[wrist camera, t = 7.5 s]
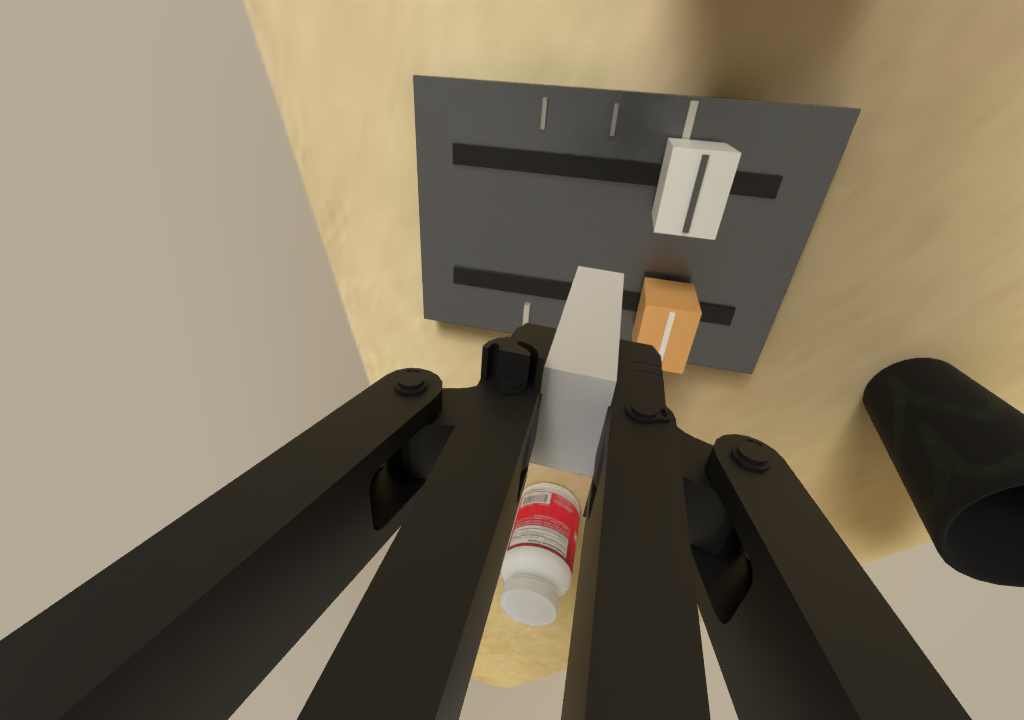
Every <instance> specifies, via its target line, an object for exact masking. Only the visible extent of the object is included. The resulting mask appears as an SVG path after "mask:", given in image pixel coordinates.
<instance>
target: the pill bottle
mask: <svg viewBox="0 0 1024 720" xmlns="http://www.w3.org/2000/svg"><path fill="white" fill-rule="evenodd" d="M579 518H580V506H579V503H578V501H577V499H576V498H575V496H574V495H573V494H572V493H571V492H569V491H568V490H567V489H565V488H563V487H561V486H559V485H556V484H552V483H537V484H534V485H531V486H529V487H527V488H526V489H525V490H524V491H523V493H522V496H521V500H520V503H519V507H518V510H517V514H516V518H515V521H514V525H513V528H512V532H511V535H510V539H509V542H508V546H507V549H506V553H505V557H504V560H503V564H502V567H501V575H502V578H503V580H504V582H505V584H504V585H503V589H502V593H501V597H500V605H501V608H502V610H503V611H504V612H505V613H506V614H507V615H508V616H509V617H510V618H512V619H513V620H515V621H517V622H519V623H522V624H525V625H529V626H546V625H548V624H551V623H552V622H553V621H554V620H555V619H556V617H557V612H558V606H559V598H560V597H561V596H563V595H564V594H565V593H566V592H567V590H568V589H569V587H570V584H571V579H572V571H573V563H574V556H575V549H576V541H577V534H578V526H579Z"/></svg>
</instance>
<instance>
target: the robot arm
mask: <svg viewBox="0 0 1024 720" xmlns="http://www.w3.org/2000/svg"><path fill="white" fill-rule="evenodd" d="M623 282H624V273H618V272H612V271H606V270H600V269H594V268H588V267H582V266H578V269H577V272H576V274H575V277H574V280H573V283H572V286H571V289H570V292H569V295H568V298H567V301H566V304H565V307H564V310H563V313H562V316H561V319H560V322H559V325H558V328H551V327H546V326H541V325H536V324H530V323H525V324H524V325H522V326H520V327H519V328H517V329H515V331H514V333H513V335H512V337H505V338H497V339H494V340H491V341H488V342H487V343H486V344H485V345H484V346H483V351H482V366H481V379H480V381H479V383H478V385H477V386H474V387H469V388H442V381H441V379H440V378H439V376H438V375H436V374H434V373H433V372H431V371H428V370H424V369H420V368H406V369H401V370H396V371H394V372H392V373H390V374H387V375H386V376H384V377H383V378H381V379H380V380H378V381H377V382H375V383H374V384H373V385H371V386H370V387H368V388H367V389H365V390H364V391H362V392H361V393H359V394H358V395H357V396H355V397H354V398H352V399H351V400H349V401H348V402H347V403H345V404H344V405H342V406H341V407H339V408H338V409H336V410H335V411H333V412H332V413H330V414H329V415H328V416H326V417H325V418H323V419H322V420H320V421H319V422H317V423H316V424H314V425H313V426H312V427H310V428H309V429H307V430H306V431H304V432H303V433H301V434H300V435H299V436H297V437H296V438H294V439H293V440H291V441H290V442H288V443H287V444H285V445H284V446H283V447H281V448H280V449H278V450H277V451H275V452H274V453H272V454H271V455H269V456H268V457H267V458H265V459H264V460H262V461H261V462H259V463H258V464H256V465H255V466H254V467H252V468H251V469H249V470H248V471H247V472H245V473H243V474H242V475H240V476H239V477H238V478H236V479H235V480H233V481H232V482H230V483H229V484H227V485H226V486H225V487H223V488H221V489H220V490H219V491H217V492H216V493H214V494H213V495H211V496H210V497H208V498H207V499H206V500H204V501H203V502H201V503H200V504H198V505H197V506H195V507H194V508H192V509H191V510H190V511H188V512H187V513H185V514H184V515H182V516H181V517H179V518H178V519H176V520H175V521H174V522H172V523H171V524H169V525H168V526H166V527H165V528H163V529H162V530H161V531H159V532H158V533H156V534H155V535H153V536H152V537H150V538H149V539H147V540H146V541H144V542H143V543H142V544H140V545H139V546H137V547H136V548H134V549H133V550H132V551H130V552H128V553H127V554H126V555H124V556H123V557H121V558H120V559H118V560H117V561H115V562H114V563H113V564H111V565H110V566H108V567H107V568H105V569H104V570H102V571H101V572H99V573H98V574H97V575H95V576H94V577H92V578H91V579H89V580H88V581H86V582H85V583H84V584H82V585H81V586H79V587H78V588H76V589H75V590H73V591H72V592H70V593H69V594H68V595H66V596H65V597H63V598H62V599H60V600H59V601H57V602H56V603H54V604H53V605H51V606H50V607H49V608H48V609H46V610H44V611H43V612H42V613H40V614H38V615H37V616H36V617H34V618H33V619H31V620H30V621H28V622H27V623H25V624H24V625H22V626H21V627H20V628H18V629H17V630H15V631H14V632H12V633H11V634H10V635H8V636H6V637H5V638H4V639H2V640H1V641H0V720H228V719H229V717H230V716H231V715H232V714H233V713H234V712H235V711H236V710H237V709H238V707H239V706H240V705H241V704H242V703H243V702H244V701H245V699H246V698H247V697H248V696H249V695H250V694H251V693H252V692H253V691H254V689H256V687H257V686H258V685H259V684H260V683H261V682H262V681H263V679H264V678H265V677H266V676H267V675H268V674H269V673H270V672H271V671H272V669H273V668H274V667H275V666H276V665H277V664H278V663H279V662H280V660H281V659H282V658H283V657H284V656H285V655H286V654H287V653H288V652H289V650H290V649H291V648H292V647H293V646H294V645H295V644H296V643H297V642H298V640H299V639H300V638H301V637H302V636H303V635H304V634H305V633H306V631H307V630H308V629H309V628H310V627H311V626H312V625H313V624H314V622H315V621H316V620H317V619H318V618H319V617H320V616H321V615H322V613H323V612H324V611H325V610H326V609H327V608H328V607H329V606H330V605H331V604H332V602H333V601H334V600H335V599H336V598H337V597H338V596H339V594H340V593H341V592H342V591H343V590H344V589H345V588H346V587H347V586H348V584H349V583H350V582H351V581H352V580H353V579H354V578H355V577H356V576H357V574H358V573H359V572H360V571H361V570H362V569H363V568H364V566H365V565H366V564H367V563H368V562H369V561H370V560H371V559H372V558H373V557H374V555H375V554H376V553H377V552H378V551H379V550H380V548H382V546H383V545H384V544H385V543H386V542H387V541H388V540H389V539H390V537H391V536H392V535H393V534H394V533H395V532H396V531H397V529H399V527H400V526H401V525H402V526H401V528H400V529H399V531H398V533H397V535H396V537H395V539H394V541H393V542H392V544H391V546H390V548H389V550H388V552H387V554H386V555H385V557H384V559H383V561H382V563H381V565H380V566H379V568H378V570H377V572H376V574H375V576H374V578H373V580H372V581H371V583H370V585H369V587H368V589H367V591H366V592H365V594H364V596H363V598H362V600H361V602H360V604H359V605H358V608H357V609H356V611H355V613H354V615H353V617H352V618H351V620H350V622H349V624H348V626H347V628H346V630H345V631H344V633H343V635H342V637H341V639H340V641H339V643H338V644H337V646H336V648H335V650H334V652H333V654H332V656H331V657H330V659H329V661H328V663H327V665H326V667H325V668H324V671H323V672H322V674H321V676H320V678H319V680H318V681H317V683H316V685H315V687H314V689H313V691H312V692H311V694H310V696H309V698H308V700H307V702H306V704H305V706H304V707H303V709H302V711H301V713H300V715H299V717H298V719H297V720H459V716H460V713H461V709H462V706H463V702H464V699H465V695H466V691H467V688H468V684H469V681H470V677H471V674H472V670H473V667H474V663H475V660H476V656H477V652H478V649H479V645H480V642H481V638H482V635H483V631H484V628H485V624H486V620H487V617H488V613H489V610H490V606H491V603H492V599H493V596H494V592H495V589H496V585H497V581H498V578H499V574H500V571H501V567H502V564H503V560H504V557H505V553H506V549H507V546H508V542H509V539H510V535H511V532H512V528H513V525H514V521H515V518H516V514H517V510H518V507H519V503H520V500H521V496H522V493H523V489H524V486H525V482H526V478H527V472H528V465H529V461H530V463H534V464H538V465H543V466H547V467H551V468H555V469H560V470H564V471H568V472H572V473H576V474H581V475H585V476H589V477H592V475H593V479H592V483H591V487H590V491H589V495H588V499H587V502H586V506H585V510H584V514H583V517H586V520H585V528H584V536H583V544H582V553H581V561H580V569H579V577H578V585H577V593H576V601H575V609H574V617H573V625H572V634H571V642H570V650H569V658H568V666H567V674H566V682H565V691H564V699H563V707H562V715H561V720H710V711H709V703H708V694H707V685H706V677H705V668H704V659H703V651H702V642H701V634H700V625H699V616H698V607H699V610H700V612H701V615H702V618H703V621H704V623H705V626H706V629H707V632H708V635H709V638H710V640H711V643H712V646H713V649H714V651H715V654H716V657H717V660H718V663H719V665H720V668H721V671H722V674H723V677H724V679H725V682H726V685H727V688H728V691H729V694H730V696H731V699H732V702H733V705H734V707H735V710H736V713H737V716H738V719H739V720H972V719H971V718H970V716H969V715H968V714H967V712H966V711H965V710H964V708H963V707H962V705H961V704H960V703H959V701H958V700H957V698H956V697H955V696H954V694H953V693H952V691H951V690H950V689H949V687H948V686H947V685H946V683H945V682H944V680H943V679H942V678H941V676H940V675H939V673H938V672H937V671H936V669H935V668H934V666H933V665H932V664H931V663H930V661H929V660H928V658H927V657H926V655H925V654H924V653H923V651H922V650H921V649H920V647H919V646H918V644H917V643H916V642H915V640H914V639H913V637H912V636H911V635H910V633H909V632H908V630H907V629H906V628H905V626H904V625H903V624H902V622H901V621H900V619H899V618H898V617H897V615H896V614H895V613H894V611H893V610H892V608H891V607H890V606H889V604H888V603H887V601H886V600H885V599H884V597H883V596H882V594H881V593H880V592H879V590H878V589H877V588H876V586H875V585H874V584H873V582H872V581H871V579H870V578H869V576H868V575H867V574H866V572H865V571H864V570H863V568H862V567H861V565H860V564H859V562H858V561H857V560H856V558H855V557H854V556H853V554H852V553H851V551H850V550H849V549H848V547H847V546H846V544H845V543H844V542H843V540H842V539H841V538H840V536H839V535H838V533H837V532H836V531H835V529H834V528H833V526H832V525H831V524H830V522H829V521H828V519H827V518H826V517H825V515H824V514H823V513H822V511H821V510H820V508H819V507H818V506H817V504H816V503H815V501H814V500H813V499H812V497H811V496H810V495H809V493H808V492H807V490H806V489H805V488H804V486H803V485H802V483H801V482H800V481H799V479H798V478H797V477H796V475H795V474H794V472H793V471H792V470H791V468H790V467H789V465H788V464H787V463H786V461H785V460H784V459H783V458H782V457H781V456H780V455H779V454H778V453H777V452H776V451H775V450H774V449H772V448H771V447H769V446H768V445H766V444H765V443H763V442H761V441H759V440H757V439H754V438H751V437H748V436H743V435H737V434H731V435H723V436H721V437H720V438H718V439H716V442H715V444H714V446H713V445H711V444H708V443H706V442H704V441H701V440H699V439H697V438H694V437H692V436H691V435H689V434H687V433H685V432H684V431H682V430H681V429H679V428H678V427H677V425H676V419H675V417H674V414H673V412H672V411H671V410H670V409H669V408H668V407H667V406H666V404H665V393H664V382H663V378H662V377H663V372H662V361H661V355H660V354H659V353H658V352H657V350H656V349H655V348H654V347H653V345H648V344H643V343H638V342H633V341H627V340H622V339H620V325H621V311H622V297H623ZM530 457H531V458H530ZM593 471H594V474H593ZM697 604H698V607H697Z"/></svg>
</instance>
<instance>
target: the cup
mask: <svg viewBox="0 0 1024 720" xmlns="http://www.w3.org/2000/svg"><path fill="white" fill-rule="evenodd" d="M863 401H864V405H865V408H866V410H867V412H868V414H869V416H870V418H871V420H872V422H873V424H874V426H875V428H876V430H877V432H878V434H879V436H880V438H881V440H882V442H883V444H884V446H885V448H886V450H887V452H888V454H889V456H890V458H891V460H892V462H893V464H894V466H895V468H896V470H897V472H898V474H899V476H900V478H901V480H902V482H903V484H904V486H905V488H906V490H907V492H908V494H909V496H910V498H911V500H912V502H913V504H914V506H915V508H916V510H917V512H918V514H919V516H920V518H921V520H922V522H923V524H924V526H925V528H926V530H927V532H928V533H929V535H930V537H931V539H932V541H933V543H934V545H935V547H936V549H937V551H938V553H939V554H940V556H941V557H942V558H943V560H944V561H945V563H947V564H948V565H949V566H951V567H952V568H954V569H955V570H956V571H958V572H960V573H962V574H964V575H967V576H969V577H972V578H974V579H977V580H980V581H984V582H989V583H993V584H997V585H1006V586H1016V587H1024V414H1023V413H1021V412H1020V411H1018V410H1017V409H1015V408H1014V407H1012V406H1011V405H1009V404H1008V403H1006V402H1005V401H1004V400H1002V399H1001V398H999V397H998V396H996V395H995V394H993V393H992V392H990V391H989V390H987V389H986V388H984V387H983V386H981V385H980V384H979V383H977V382H976V381H974V380H973V379H971V378H970V377H968V376H967V375H965V374H964V373H962V372H961V371H959V370H958V369H956V368H955V367H954V366H952V365H951V364H949V363H946V362H944V361H941V360H937V359H932V358H915V359H909V360H904V361H901V362H898V363H895V364H892V365H890V366H889V367H887V368H885V369H883V370H881V371H880V372H879V373H878V374H877V375H875V376H874V377H873V378H872V379H871V381H870V382H869V383H868V384H867V387H866V389H865V391H864V397H863Z"/></svg>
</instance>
